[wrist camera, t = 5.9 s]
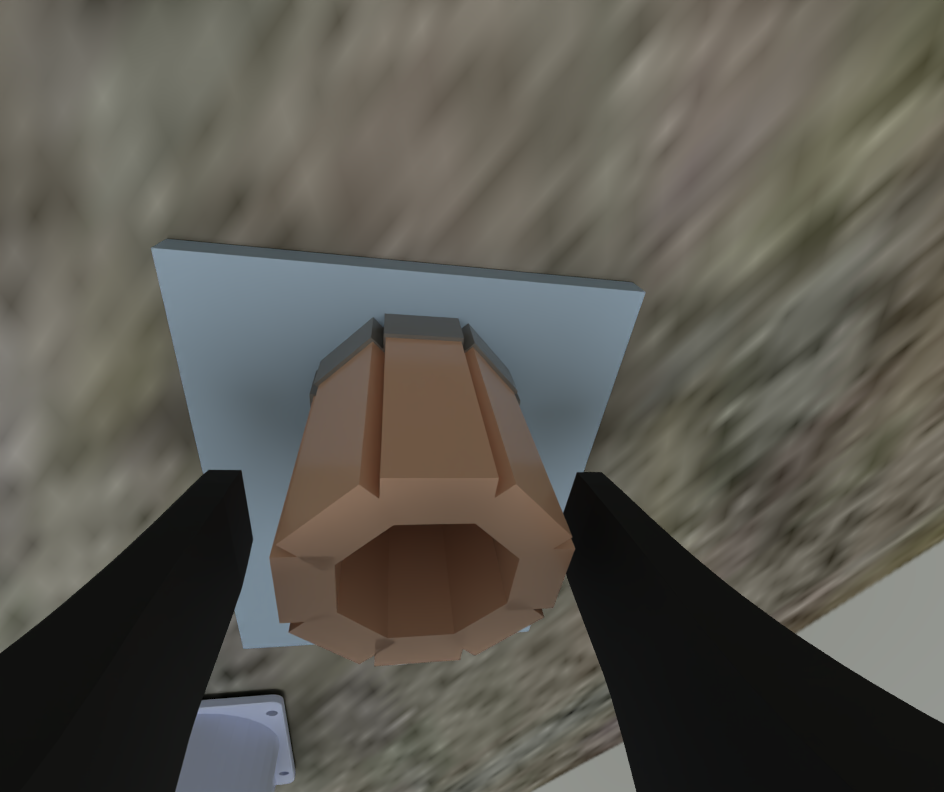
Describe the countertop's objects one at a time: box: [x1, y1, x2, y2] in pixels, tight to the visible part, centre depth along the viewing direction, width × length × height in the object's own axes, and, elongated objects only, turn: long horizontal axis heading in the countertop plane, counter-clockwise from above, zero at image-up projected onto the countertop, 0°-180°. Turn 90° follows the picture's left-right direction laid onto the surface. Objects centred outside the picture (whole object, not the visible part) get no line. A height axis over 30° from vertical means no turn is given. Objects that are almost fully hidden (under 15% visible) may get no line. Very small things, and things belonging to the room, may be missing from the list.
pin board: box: [151, 239, 645, 665], centre depth 14 cm, size 16×12×4 cm
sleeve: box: [269, 313, 575, 666], centre depth 11 cm, size 5×5×6 cm
